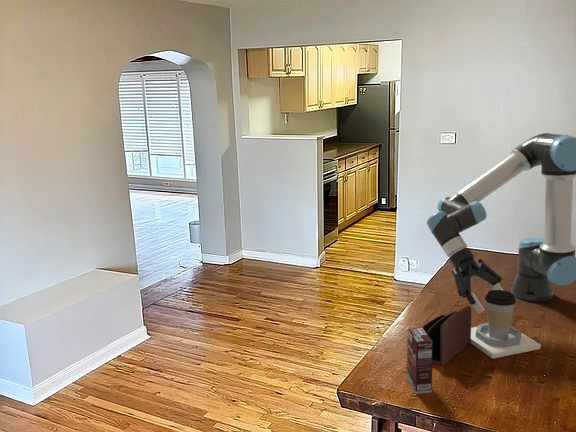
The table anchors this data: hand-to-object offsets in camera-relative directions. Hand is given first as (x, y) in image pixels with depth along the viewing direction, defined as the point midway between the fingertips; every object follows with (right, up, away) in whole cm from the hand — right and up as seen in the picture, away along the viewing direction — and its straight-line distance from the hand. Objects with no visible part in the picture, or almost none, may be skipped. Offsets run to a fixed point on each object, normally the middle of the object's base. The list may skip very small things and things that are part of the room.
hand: (494, 307), depth 173 cm
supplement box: (-30, -19, -22) cm, 42 cm away
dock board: (+2, -12, +2) cm, 12 cm away
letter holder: (-18, -14, -2) cm, 22 cm away
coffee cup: (+2, -10, +2) cm, 11 cm away
